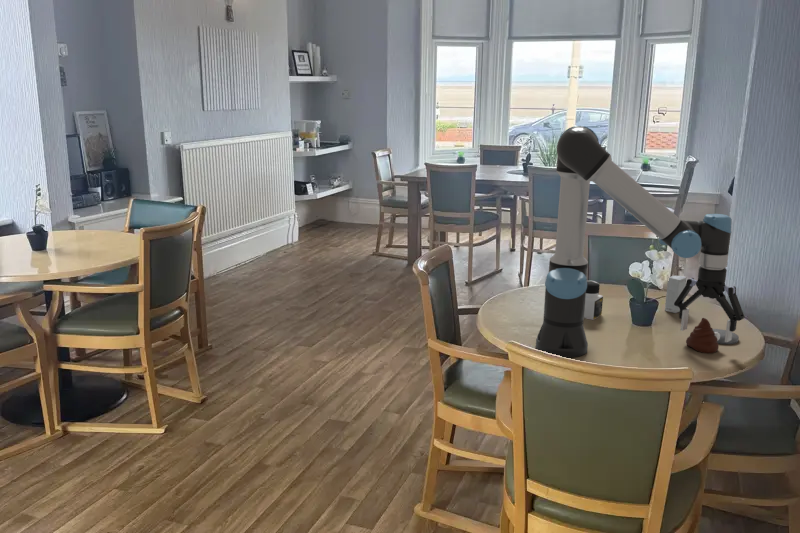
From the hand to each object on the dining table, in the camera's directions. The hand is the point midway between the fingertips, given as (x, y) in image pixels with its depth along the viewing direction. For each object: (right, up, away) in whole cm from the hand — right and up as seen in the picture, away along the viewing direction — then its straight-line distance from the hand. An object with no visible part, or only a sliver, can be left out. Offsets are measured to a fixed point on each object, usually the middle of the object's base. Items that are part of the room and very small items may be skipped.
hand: (705, 335), depth 210 cm
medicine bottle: (-28, +4, +29) cm, 40 cm away
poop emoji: (-1, -4, +1) cm, 4 cm away
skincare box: (+5, +5, +36) cm, 37 cm away
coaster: (+8, -2, +9) cm, 12 cm away
